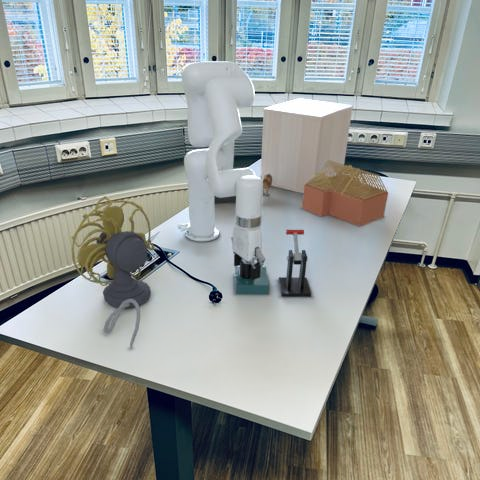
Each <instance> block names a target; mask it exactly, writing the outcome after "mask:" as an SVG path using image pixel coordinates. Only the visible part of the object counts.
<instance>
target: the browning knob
mask: <svg viewBox="0 0 480 480" xmlns="http://www.w3.org/2000/svg"><path fill="white" fill-rule="evenodd" d="M239 267H240V277H242V278H244V279H250V278H251V268H252V265H251V262H250V261H246V260H245V259H241V260H240V265H239Z"/></svg>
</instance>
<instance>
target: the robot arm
mask: <svg viewBox="0 0 480 480" xmlns="http://www.w3.org/2000/svg"><path fill="white" fill-rule="evenodd" d="M181 85H182V89H183V92H184V96H185V99H186V105H187V107H186V108H187V109H186V110H187V111H186V112H187V115H186V116H187V136H188V137H187V138H188V142H189V144H191V145H190V146H192V147H196V148H199V149H193V150H191V151H188V152H187V153H186V154H185V155H184V158H183V165H184V170H185V171H184V172H185V176H186V182H187V183H186V184H187V198H188V199H187V200H188V217H189V218H188V219H189V220H188V222H186V223H178V224H177V229H178V230H180V232H185V236H186V238H187V239H189V240H191V241H194V242H210V241H213V240H215V239H217V238H218V237H219V236H220V232H219V229H217V228H216V222H215V221H216V218H215V217H216V216H215V213H216V210H215V203H214V195H215V196H216V197H219V198H223V197H231V196H236V203H235V220H234V221H235V222H234V224H233V231H232V236H231V246H232V247H231V249H232V252H233V253H232V254H233V266H234V267H240V260H241V259H245V260H246V261H250V262H251V265H252V268H251V279H252V280H253V279H257V278H260V271H261V267H263V265H264V263H265V261H266V258H265V256H264V254H263V237H262V235H263V234H262V218H263V217H262V216H263V196H264V194H263V181H262V180H261V177H259V176H257V174H256V172H255V171H254V170H253V169H252V168H250V167H243V168H234V162H235V161H234V159H235V140H236V139H238V138H239V137H240V136H241V135H242V133H243V125H242V120H241V116H240V111H239V109H244V108H250V107H251V106H253V104H254V101H255V98H256V97H255V95H256V94H255V87H254V84H253V82H252V79H251V78H250V76H249V75H248V73H246V72H245V71H244V70H243V68H242V67H241V66H240V65H239V64H238V63H237V62H234V61H229V60H228V61H227V60H226V61H195V62H190V63H187V64H186V65H184V66H183V67H182V70H181ZM206 147H208V148H206ZM200 148H201V149H200ZM255 260H256V263H255Z"/></svg>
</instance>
